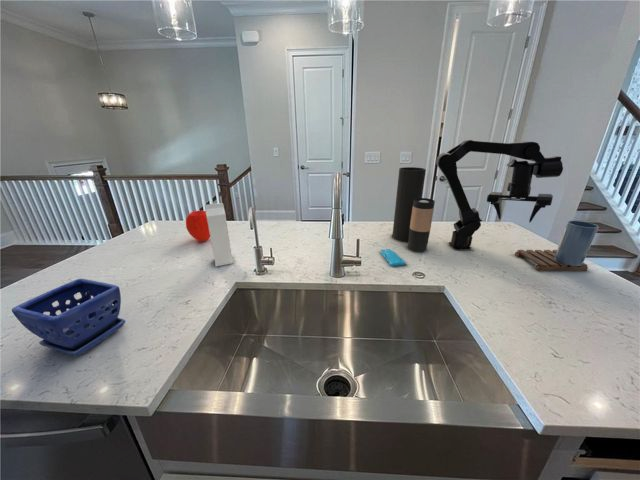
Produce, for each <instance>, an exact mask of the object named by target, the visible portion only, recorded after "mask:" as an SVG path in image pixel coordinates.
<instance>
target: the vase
mask: <svg viewBox="0 0 640 480" xmlns="http://www.w3.org/2000/svg"><path fill="white" fill-rule="evenodd" d="M426 171H427V169H426V168H423V167H417V166H416V167H415V166H412V167H411V166H406V167H405V166H404V167H400V168H399V169H398V178H397V186H396V187H397V188H396V198H395V207H394V217H393V224H392V235H391V236H392V238H393V239H394V240H396V241H399V242H404V243H405V242H406V243H408V240H409V230H410V222H411V215H412V208H413V202H414V199H416V198H423V194H424V193H423V192H424V187H425V185H424V184H425V177H426Z"/></svg>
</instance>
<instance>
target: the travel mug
mask: <svg viewBox="0 0 640 480" xmlns="http://www.w3.org/2000/svg"><path fill="white" fill-rule="evenodd" d="M435 203H436V201H435V200H434V199H431V198H427V197H422V198H416V199H414V202H413V208H412V215H411V222H410V230H409V240H408V242H407V249H408V250H409V251H411V252H414V253H424V252H426V251H427V248H428V245H429V239H430V233H431V229H432V221H433V215H434V209H435Z"/></svg>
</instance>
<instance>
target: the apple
mask: <svg viewBox="0 0 640 480" xmlns="http://www.w3.org/2000/svg"><path fill="white" fill-rule="evenodd" d="M185 228H186V230H187V232H188V233H189V235H190V236H191V237H192V238H193V239H194V240H196V242H197V241H198V242H206V241H208V240H209V239H211V237H210V232H209V227H208V221H207V216H206V210H194V211H190V212H189V213H188V214H187V215H186V217H185Z"/></svg>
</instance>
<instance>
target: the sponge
mask: <svg viewBox="0 0 640 480" xmlns="http://www.w3.org/2000/svg"><path fill="white" fill-rule="evenodd" d="M380 254H381V255H382V256H383V258H384V259H385V260H386V261H387V263H388V265H389V266H392V267H393V266H394V267H395V266H405V265H406V262H405V260H403V259H402V258H401V256H399V255H398V254H397V253H396V252H395V251H394V250H391V249H390V248H385V249H381V250H380Z"/></svg>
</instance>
